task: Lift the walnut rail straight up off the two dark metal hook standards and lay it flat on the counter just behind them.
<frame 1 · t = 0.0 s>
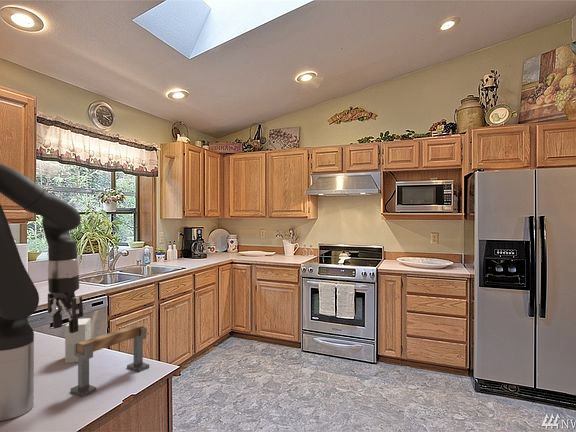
hand: (65, 329, 100), 17 cm above the counter, tool pointing down, fingers open, 8 cm apart
walnut rail: (112, 343, 107), point 11 cm above the counter, touching hook stand
hook stand: (112, 378, 106), on the counter
small box: (78, 358, 123), on the counter
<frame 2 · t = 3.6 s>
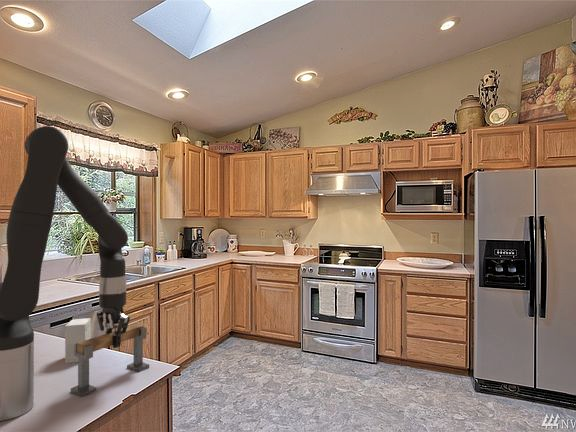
hand: (112, 345, 107), 10 cm above the counter, tool pointing down, fingers closed on walnut rail, 3 cm apart
walnut rail: (112, 343, 107), point 11 cm above the counter, touching gripper, hook stand
everything else where it was.
when the fingers open (1 cm above the counter, at t = 10.2 s): walnut rail drops 2 cm, on the counter.
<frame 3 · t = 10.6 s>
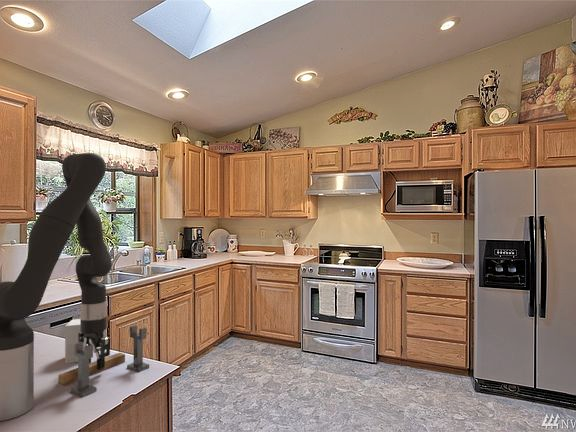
hand: (93, 366, 111), 2 cm above the counter, tool pointing down, fingers open, 7 cm apart
walnut rail: (94, 372, 111), on the counter
everything else where it was.
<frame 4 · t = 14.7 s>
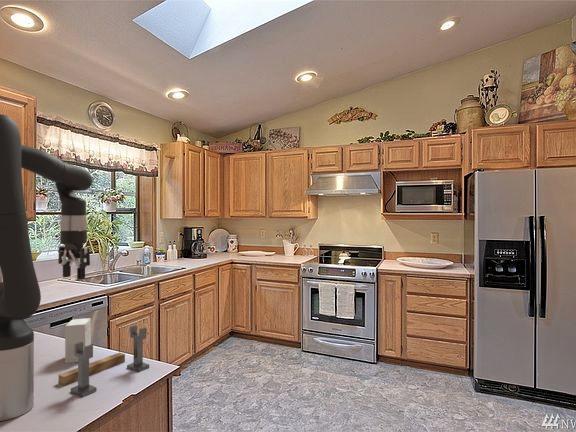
hand: (73, 278, 114), 30 cm above the counter, tool pointing down, fingers open, 8 cm apart
nothing on the counter moved.
at the end: walnut rail inside the target area (0.1 cm from its centre), on the counter; walnut rail tilted 0°; the gripper is holding nothing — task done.
